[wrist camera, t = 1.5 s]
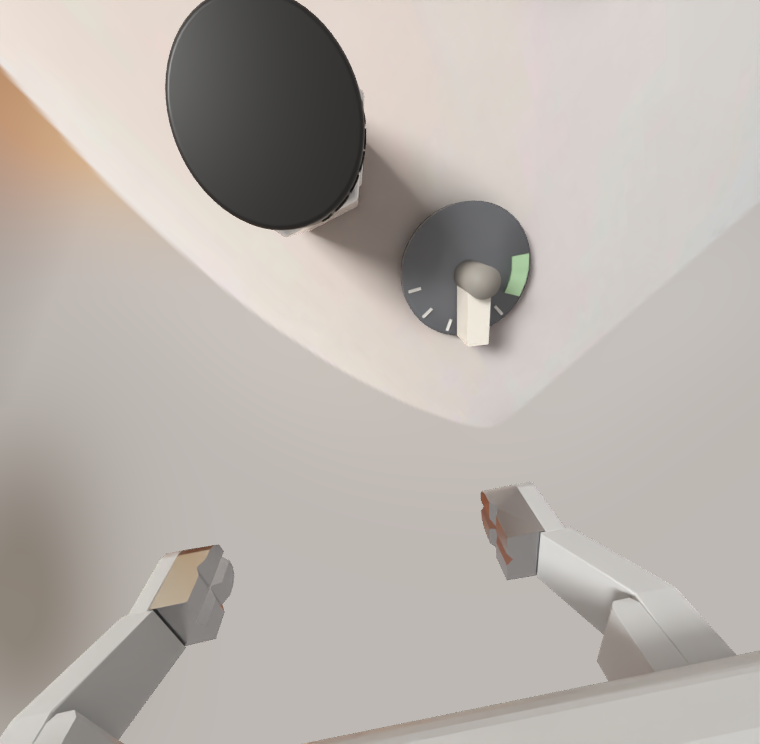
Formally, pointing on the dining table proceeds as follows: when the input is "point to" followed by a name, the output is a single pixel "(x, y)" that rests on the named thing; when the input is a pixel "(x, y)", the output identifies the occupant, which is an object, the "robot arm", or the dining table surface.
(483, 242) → the dial
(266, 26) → the jar
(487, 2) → the dining table surface
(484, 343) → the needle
